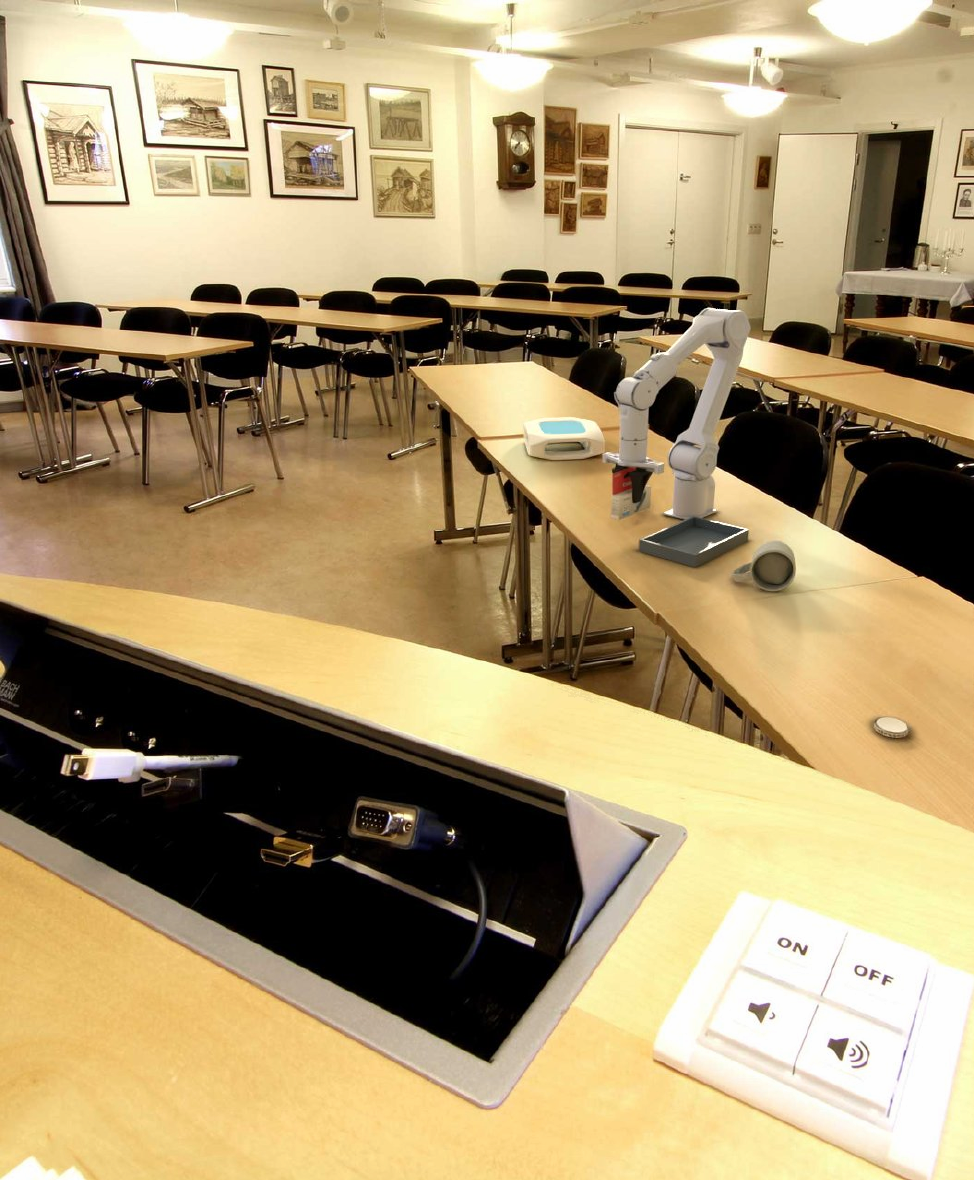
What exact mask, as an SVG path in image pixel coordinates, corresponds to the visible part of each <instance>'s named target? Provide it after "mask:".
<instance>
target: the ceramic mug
mask: <svg viewBox="0 0 974 1180" xmlns="http://www.w3.org/2000/svg"><path fill="white" fill-rule="evenodd" d="M796 572H797V565H796V557H795V553H794V552H793V550H792V548H791V547H790V546H789V545H788V544H787V543H785V542H783V541H781V540H769V541H765V542H763V543H761V544H760V545H759V546H758V547H757V548H756V549H755V551H754V552H753V555H752V559H751V562H748V563H745V564H742V565H740V566H738V567H737V568H735V569H734V570H733V571H732V573H731V575H732V577H733V578H732V579H733V580H734V582H736V583H747V582H749V581H752V583H754V585H755V586H756V587H758V588H759V589H761V590H763V591H766V592H779V591H782V590H784V589H786V588H787V587H789V586H790V585H791V584H792V583H793V582H794V580H795V577H796Z"/></svg>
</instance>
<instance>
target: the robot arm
mask: <svg viewBox="0 0 974 1180" xmlns="http://www.w3.org/2000/svg"><path fill="white" fill-rule="evenodd" d="M751 329H752V327H751V323H750V321H749V318H748V315H747V314H746V313H745V312H744V310H743V311H742V310H739V309H737V310H728V309H718V308H717V309H716V308H713V307H707V308H704V309H703V310H701V311H700V312H699V314H698V315H696V316H695V317H694V318H693V320H692V324H691V326H690V327H689V328H688V329H687V330H686V331H685V332H684V333H683V334H682V335H681V336H680V338H679V339H677V340H676V342H675V343H674V344H673V345H672V346H671V347H670V348H669V349H668V350H667V351H666V352H657V353H653V354H652V355H651V356H650V357H649V360H648V361H647V362H646V363H645V364H644V365H643V366H642V367H641V368H640V369H639V370H636V371H635V372H634V374H633V375H632V376H631V377H626V378H623V379H622V380H621V381H620V382H619V383H618V385H617V387H616V390H615V391H614V392H613V394H614V395H613V396H614V400H615V402H616V403H617V405H618V412H619V441H618V453H617V452H604V453H602V464H612V465H615V466H614V467H612V468H611V474H613V473H616V472H619V471H622V470H625V469H628V468H635V469H636V470H634V471H631V472H629V471H628V472H627V473H626V474H625V475H624V478H627V477H630V478H631V483H632V502H633V503H638V502H641V499H642V495H643V492H644V489H645V486H646V485H648V482H649V480H650V478H651V477H652V475H653V474H655V475H660V474H663V473H665V463H664V462H660V461H658V460H655V459H653V458H649V457H648V436H649V435H648V433H649V432H648V431H649V409H650V407H652V406H653V404H654V402H655V400H656V398H657V395H658V394H659V391H660V390H661V389H662V388H663V387H664V386H665V385H666V384H667V383H668V382H670V381H671V380H672V379H673V378H674V377H675V376H676V375H677V373H678V365H680V364H681V363H683V361H685V360H686V359H688V358H689V357H690V356H691V355H692V354H694V353H695V352H696V351H697V350H698V349H700V348H701V347H702V346H703V345H705V346H706V347H707V349H708V350H709V351H710V352H711V354H712V356H713V360H712V365H711V366H710V369H709V371H708V374H707V377H706V379H705V380H706V381H705V383H704V386H703V388H702V391H701V394H700V397H699V400H698V403H697V405H696V407H695V411H694V413H693V416H692V419H691V422H690V424H689V427H688V428H687V429H686V430H684V431H683V432H682V433H680V434H678V435H677V438H676V441H675V442H674V444H673V445H672V446H671V448H670V449H669V451H668V454H667V465H668V467H669V468H670V469H671V470H672V471H671V474H672V475H673V489H672V506H671V507H672V508H671V509H670V510H666V511H665V512H663V514H664V516H668V517H672V518H676V519H681V520H686V519H688V518H690V517H693V516H695V517H699V518H706V517H708V516H711V515H712V514H715V513H717V511H718V510H717V509H715V508H714V507H715V493H716V481H715V479H714V477H713V475H712V474H713V473H714V471H715V470H716V467H717V463H718V462H717V461H718V454H719V450H720V446H719V444H718V442H717V441H716V440H715V437H714V436H715V433H716V430H717V427H718V424H719V422H720V419H721V416H722V414H723V411H724V408H725V405H726V402H727V400H728V397H729V395H730V392H731V389H732V386H733V383H734V381H735V378H736V376H737V373H738V370H739V367H740V365H741V362H742V359H743V357H744V348H745V345H746V343H747V339H748V337H749V335H750V332H751Z"/></svg>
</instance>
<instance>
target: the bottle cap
mask: <svg viewBox="0 0 974 1180" xmlns="http://www.w3.org/2000/svg"><path fill="white" fill-rule="evenodd" d="M873 728H874V730H875V731H876V732H878V733H879V734H881V735H882V736H885V737H888V738H895V739H897V738H899V739H900V738H904V737H907V736H908V735H909V731H910V726H909V724H908V723H907V722H905V721H904V720H902V719H900V718H897V717H893V716H881V717H877V718H876V719H875V720H874V724H873Z"/></svg>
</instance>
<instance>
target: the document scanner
mask: <svg viewBox="0 0 974 1180" xmlns="http://www.w3.org/2000/svg"><path fill="white" fill-rule="evenodd" d="M522 432H523V440H524V446H525V448H526V451H527V452H526V453H527V455H529V456H530V457H534V458H535V457H536V458H540V459H546V460H551V461H562V460H565V461H566V460H584V459H588V458H591V457H594V456H595V457H596V456H599V455H603V454H605V453H606V440H605V437H604V435H603V432H602V429H601V428H600V427H599V425H598V423H597V422H596V421H594V420H590V419H585V418H579V417H573V416H563V417H561V416H560V417H559V416H558V417H542V418H539V419H535V420H531V421H528V422H527V421H526V422H524V423H523V424H522ZM573 442H576V443H577V442H579V443H580V444H581V445H582V447H583V448H584V449H581V450H566V451H548V450H546V447H547V445H548V444H557V443H573Z"/></svg>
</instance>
